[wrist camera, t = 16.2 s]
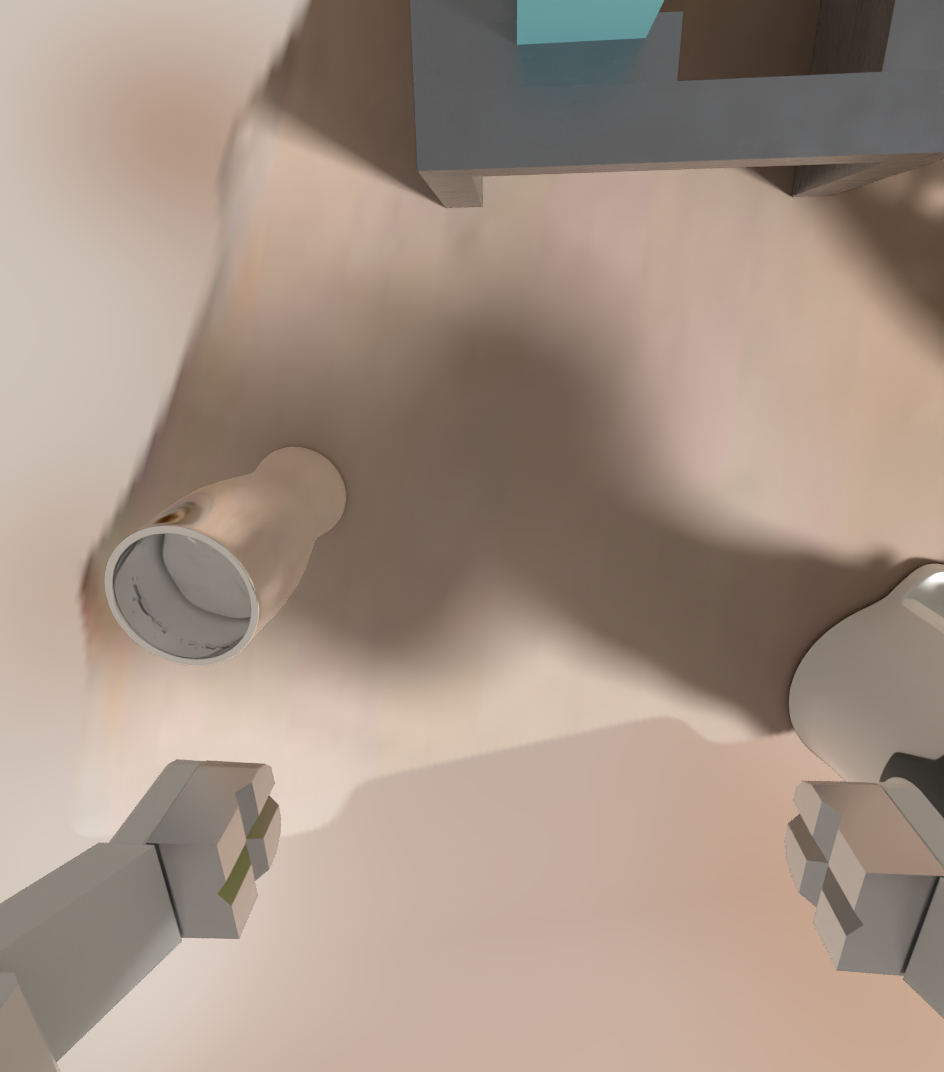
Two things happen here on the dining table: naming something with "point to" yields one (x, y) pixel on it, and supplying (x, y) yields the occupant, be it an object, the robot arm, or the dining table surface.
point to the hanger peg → (584, 20)
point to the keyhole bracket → (672, 101)
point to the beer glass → (223, 558)
